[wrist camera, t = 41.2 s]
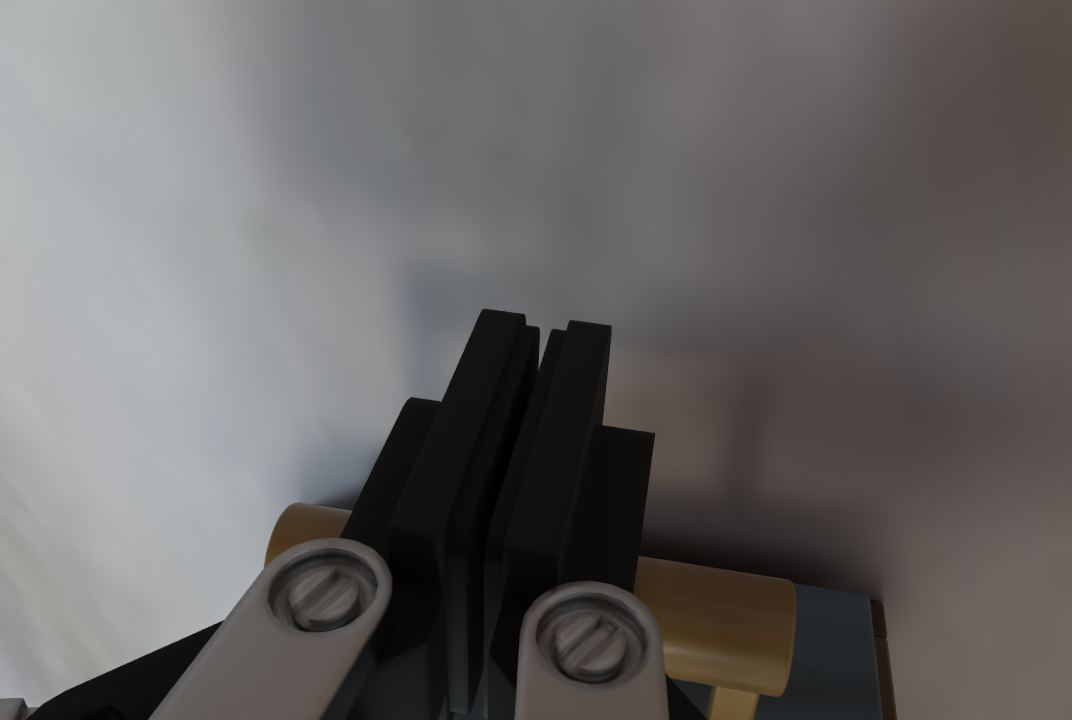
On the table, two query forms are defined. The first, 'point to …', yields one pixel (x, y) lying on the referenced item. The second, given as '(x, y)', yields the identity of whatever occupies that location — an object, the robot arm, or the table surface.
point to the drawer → (721, 635)
